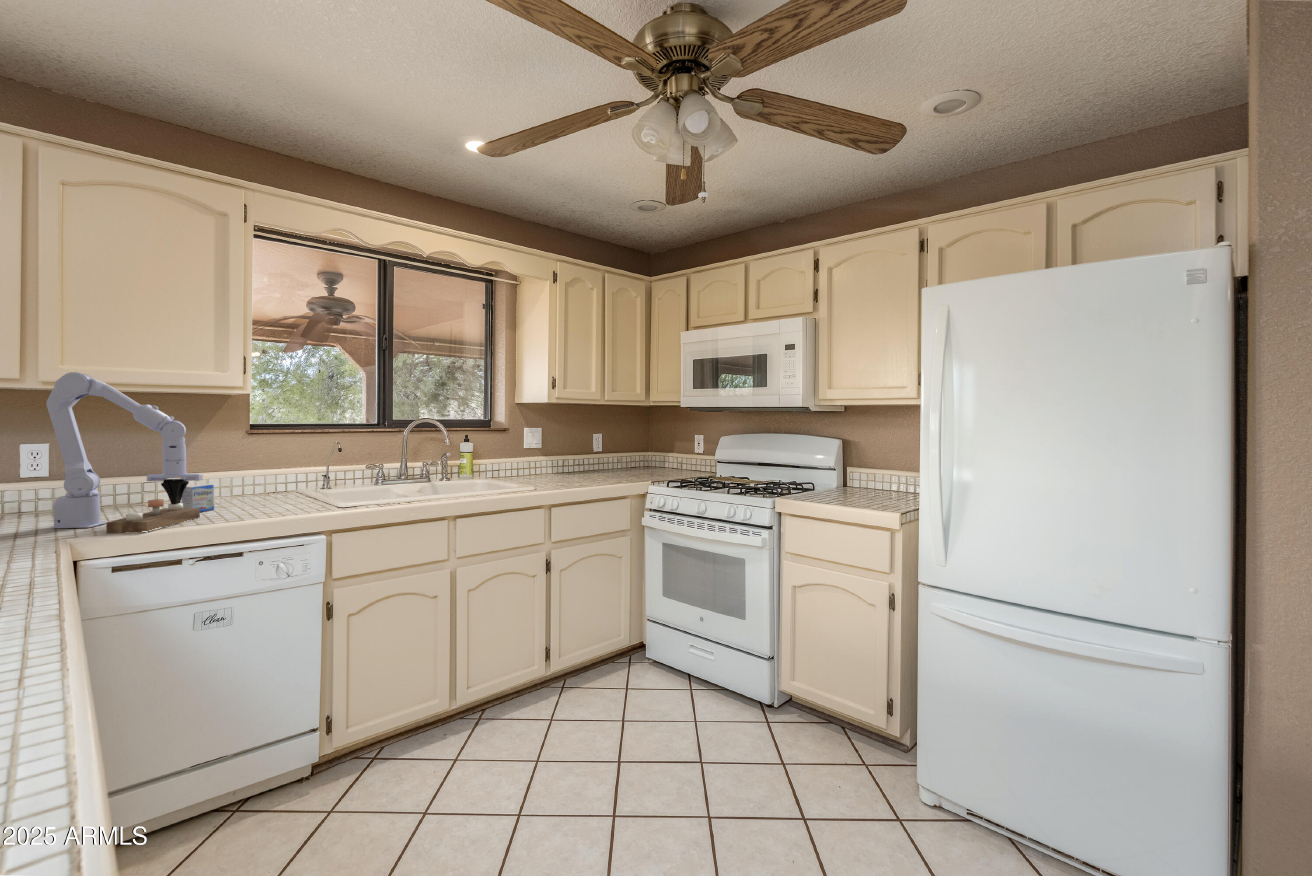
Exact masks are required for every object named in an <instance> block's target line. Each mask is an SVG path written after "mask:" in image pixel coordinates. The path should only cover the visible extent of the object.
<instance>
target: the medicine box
mask: <svg viewBox="0 0 1312 876" xmlns="http://www.w3.org/2000/svg"><path fill="white" fill-rule="evenodd" d="M214 487H215V486H214V484H212V483H211V484H210V483H209V484H207V483H205V484H204V483H203V484H198V485H197V484H196V485H187V486H186V488H185V490H184V492H183V495H182V498H181V503H183V508H199V510H200V513H205V512H209V510H210V511H214V510H215V489H214Z"/></svg>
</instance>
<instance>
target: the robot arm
mask: <svg viewBox="0 0 1312 876" xmlns="http://www.w3.org/2000/svg"><path fill="white" fill-rule="evenodd" d="M87 396H94V397H101V398H104V399H106V400H108V401H109V402H112V403H113V404H115V405H117V406H118V407H121V408H122V409H124V410H126V411H128V412H130V413H132V414H133V415H132V416H133V419H134V420H135V421H137V423H139V424H142V425H143V426H144V427H146V428H148V429H150V430H152V431H154V432H155V433H159V434H160V436H161V437H162V445H161V449H162V453H161V454H162V455H161V456H162V457H161V458H162V473H159V474H158V473H157V474H155V473H154V474H153V473H151V474H147V475H146V482H161V481H162V482H161V483H160V485H161V487H162V488H163V489H164V490H165V493H166V494H167V496H168V499H169V502H170V504H180V503H182V495H183V492H184V490H185V488H186V487H188V486H189V483H190V482H189V481H195V482H196V481H197V482H199V481H200V482H201V481H203V478H204V477H203V473H188V472H187V447H186V438H185V435H186V433H187V429H186V426H185V425H184V423H182V422H181V421H179V420H175V417H174V416H173V415H170V416H169V415H168V414H166V413H164V412H163V411H161V410H159V407H158V406H157V405H151V404H140V403H138V402H137V401H135V400H134V399H132V398H130V397H129V396H128V395H126V394H124V393H123V392H121V391H119V390H118V389H117V388H115V387H113V386H112V385H110V384H108V383H107V382H104V381H102V380H100V379H97V378H93V377H92V376H91V375H89V374H86V373H80V372H75V371H74V372H66V373H65V374H62V375H61V376H60V377H59V378H58V379H57V380H55V382H54V384H53V388H52V390H51V392H50V394H49V396H48V398H47V400H46V402H45V403H46V408H47V410H48V411H47V412H48V414H49V417H50V421H51V425H52V427H53V431H54V435H55V438H56V440H57V444H58V447H59V450H60V453H61V457H62V460H63V464H64V470H63V471H64V472H63V473H64V478H65V479H64V482H63V488H64V490H65V491H66V493H65V494H64V495H61V496H58V497H57V498H56V499H55V500H54V503H53V505H52V506H53V510H52V511H53V526H51V529H86V528H88V529H89V528H93V527H96V526H101V525H106V522H110V521H108V520H107V521H105V520H102V521H101V519H102V518H101V493H100V491H98V490H97V488H98V487H99V486H100V484H101V478H100V476H99V475H98V474H97V473H96V472H95V471H94V470H93V466H92V464H91V463H90V461H89V460H88V457H87V453H86V450H85V447H84V443H83V441H82V436H81V433H80V431H79V430H80V429H79V427H78V424H77V421H76V417H75V413H74V410H73V407H74V406H75V405H76V404H77V403H78V402H79V401H80V399H82V398H85V397H87Z"/></svg>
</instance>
